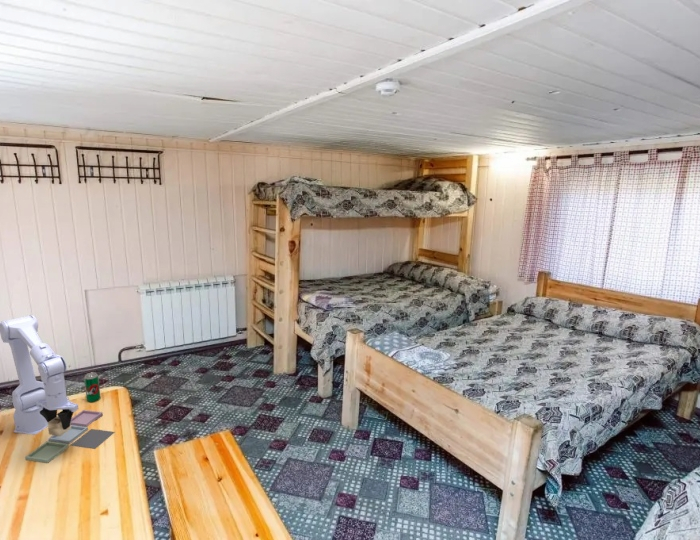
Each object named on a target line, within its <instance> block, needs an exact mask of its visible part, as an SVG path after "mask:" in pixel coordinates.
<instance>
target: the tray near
mask: <svg viewBox="0 0 700 540" xmlns="http://www.w3.org/2000/svg"><path fill="white" fill-rule="evenodd" d="M69 446H70V444H66V443H58V442H51V441H49V440H48V441H46V442H44V443H43V444H41V445H39V446H38V447H37V448H35V449H34V450H33V451H32V452H30V453H28V454H27V455H26V456H25V459H24V460H25V461H30V462H35V463H36V462H38V463H44V464H49V463H50V462H52V461H53V460H54V459H55V458H56V457H58V456H60V454H62V453H63V452H64V451H65V450H67V449H68V448H69Z"/></svg>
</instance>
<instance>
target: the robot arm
mask: <svg viewBox="0 0 700 540" xmlns="http://www.w3.org/2000/svg"><path fill="white" fill-rule="evenodd" d="M38 329H39V322H38V319H37V317H36V316H34V315H32V314H30V315H26V316H21V317H17V318H12V319H8V320H2V321H0V337H1V341H2V343H5V344H6V343H7V344H8V345H9V346H10V350H11V354H12V358H13V362H14V366H15V370H16V374H17V379H18V382H19V384H18V386H17V387H16V388H15V389H14V390H13V391H12V392H11V396H12V404H13V407H14V409H15V410H14V412H13V422H14V427H15V429H14V430H13V433H15V434H16V433H18V434H27V435H33V436H36V435H38V434H39V433H40V432H42V431H44V430H45V429H46V428H48V424H47V423H48V422H49V421H51V420H52V419H54V418H56V417H57V416H58V417H59V418H60V420H61V423H62V427H63V429H64V430H65V429H67V428H68V427H70V422H71V418H73V415H74V413H75V412H76V411H78V410H79V404H78V403H74V402H72V401H70V400H69V397H67V390H66V382H65V381H66V380H65V372H66V371H67V363H66V360H65V359H64V357H63V356H62V355H59V354H56V353H55V351H54V350H53V349H52V346H50V344H48V343H43V341H42V339H41V338H40V336H39V334H38ZM29 348H30V350H29ZM32 359H33V360H34V362H35V363H36V365H37V370H38V373H39V375H40V380H41V381H39V380H36V379H37V377H36V376H35V375H36V374H35V370H34V367H33V366H34V365H33V362H32ZM60 410H61V411H60ZM58 411H59V412H58Z"/></svg>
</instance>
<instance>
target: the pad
mask: <svg viewBox="0 0 700 540" xmlns="http://www.w3.org/2000/svg"><path fill="white" fill-rule="evenodd" d="M115 433H116V431H109V430H103V429H96V428H95V429H94V428H91V429H88V430H87V431H86V432H85V433H83V434H82V435H81V436H80V437H78V438H77V439H76V440H74V441H73V442H72V443H70V444H69V446H70V447H78V448H84V449H93V450H96V449H97V448H99V446H101V445H102V444H103V443H104V442H105V441H107V439H109V438H111V436H113V434H115Z"/></svg>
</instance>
